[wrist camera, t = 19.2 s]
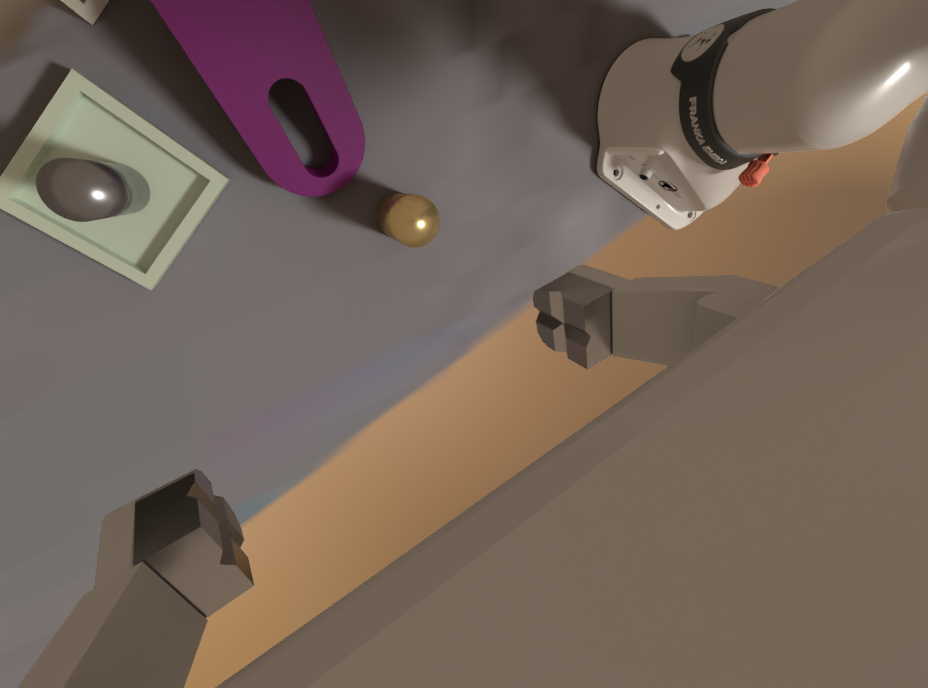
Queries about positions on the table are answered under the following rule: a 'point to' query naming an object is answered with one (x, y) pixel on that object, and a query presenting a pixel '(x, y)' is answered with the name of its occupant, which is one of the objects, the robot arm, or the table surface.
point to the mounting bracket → (271, 81)
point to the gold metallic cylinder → (408, 219)
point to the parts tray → (124, 142)
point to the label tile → (87, 8)
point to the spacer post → (91, 189)
